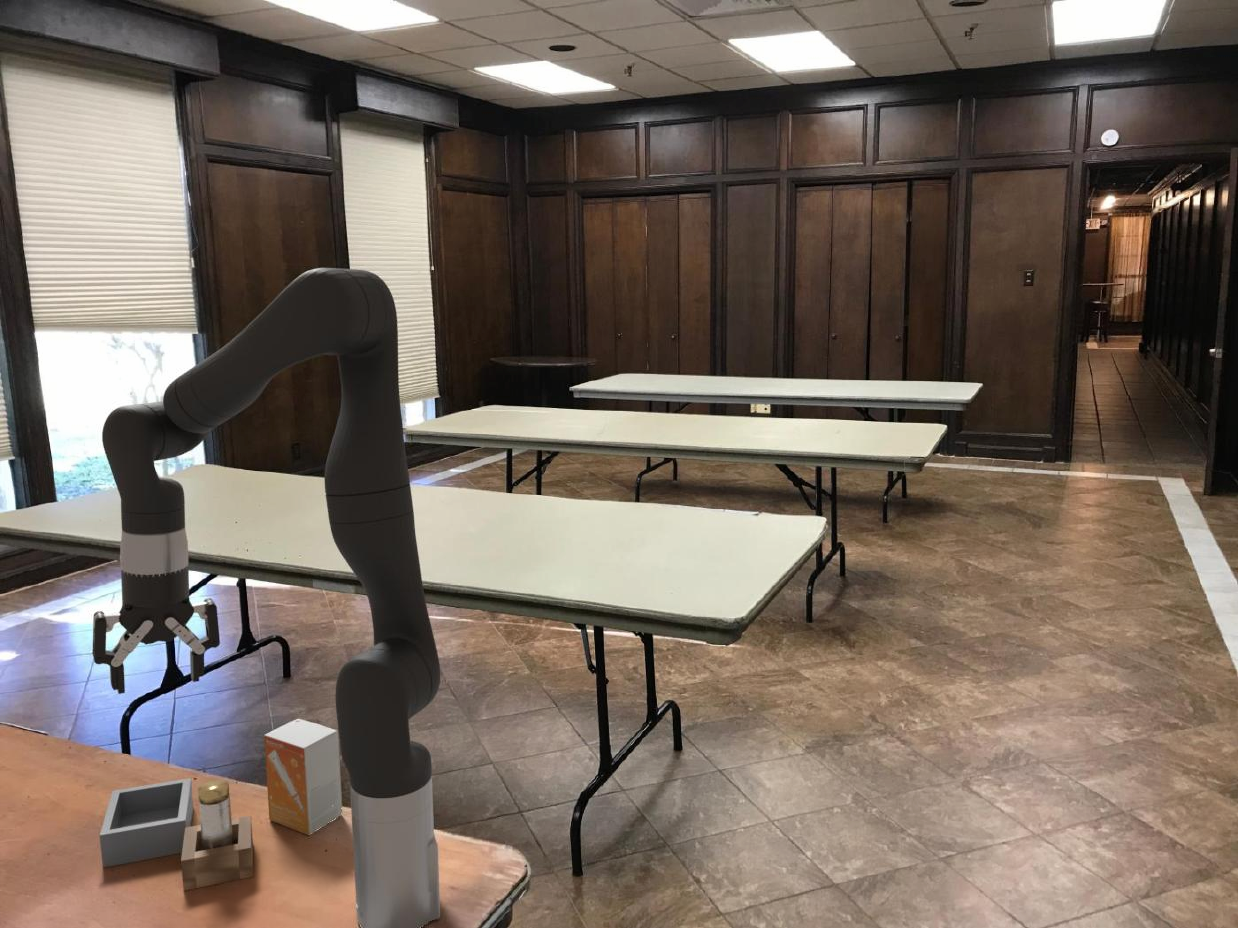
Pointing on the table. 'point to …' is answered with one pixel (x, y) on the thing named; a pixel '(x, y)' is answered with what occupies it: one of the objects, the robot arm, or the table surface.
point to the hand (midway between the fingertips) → (158, 685)
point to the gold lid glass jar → (215, 814)
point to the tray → (146, 822)
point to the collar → (217, 857)
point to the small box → (303, 775)
